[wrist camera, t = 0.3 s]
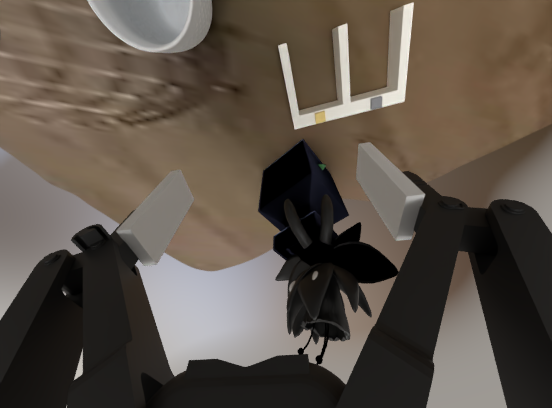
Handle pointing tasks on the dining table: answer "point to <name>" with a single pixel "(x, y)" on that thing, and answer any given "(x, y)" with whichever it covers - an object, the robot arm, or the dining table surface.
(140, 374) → the robot arm
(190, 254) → the dining table surface
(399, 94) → the comb rack
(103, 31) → the dining table surface
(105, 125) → the dining table surface
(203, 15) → the mug
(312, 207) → the vase
